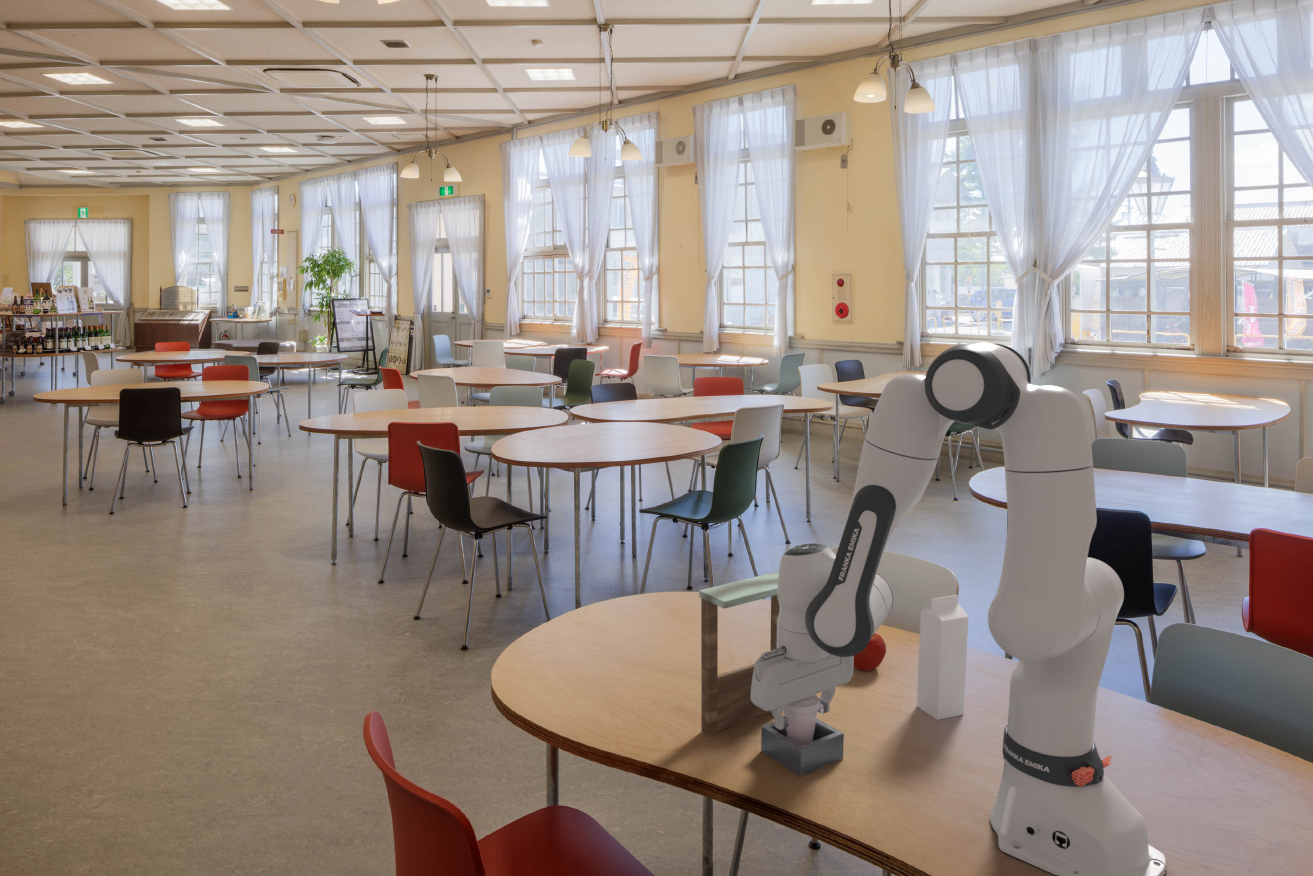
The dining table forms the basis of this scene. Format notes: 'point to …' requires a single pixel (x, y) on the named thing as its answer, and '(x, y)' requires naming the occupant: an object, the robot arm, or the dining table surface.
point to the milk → (942, 658)
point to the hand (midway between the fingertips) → (802, 719)
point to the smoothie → (802, 719)
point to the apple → (871, 654)
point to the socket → (803, 748)
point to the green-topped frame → (728, 691)
